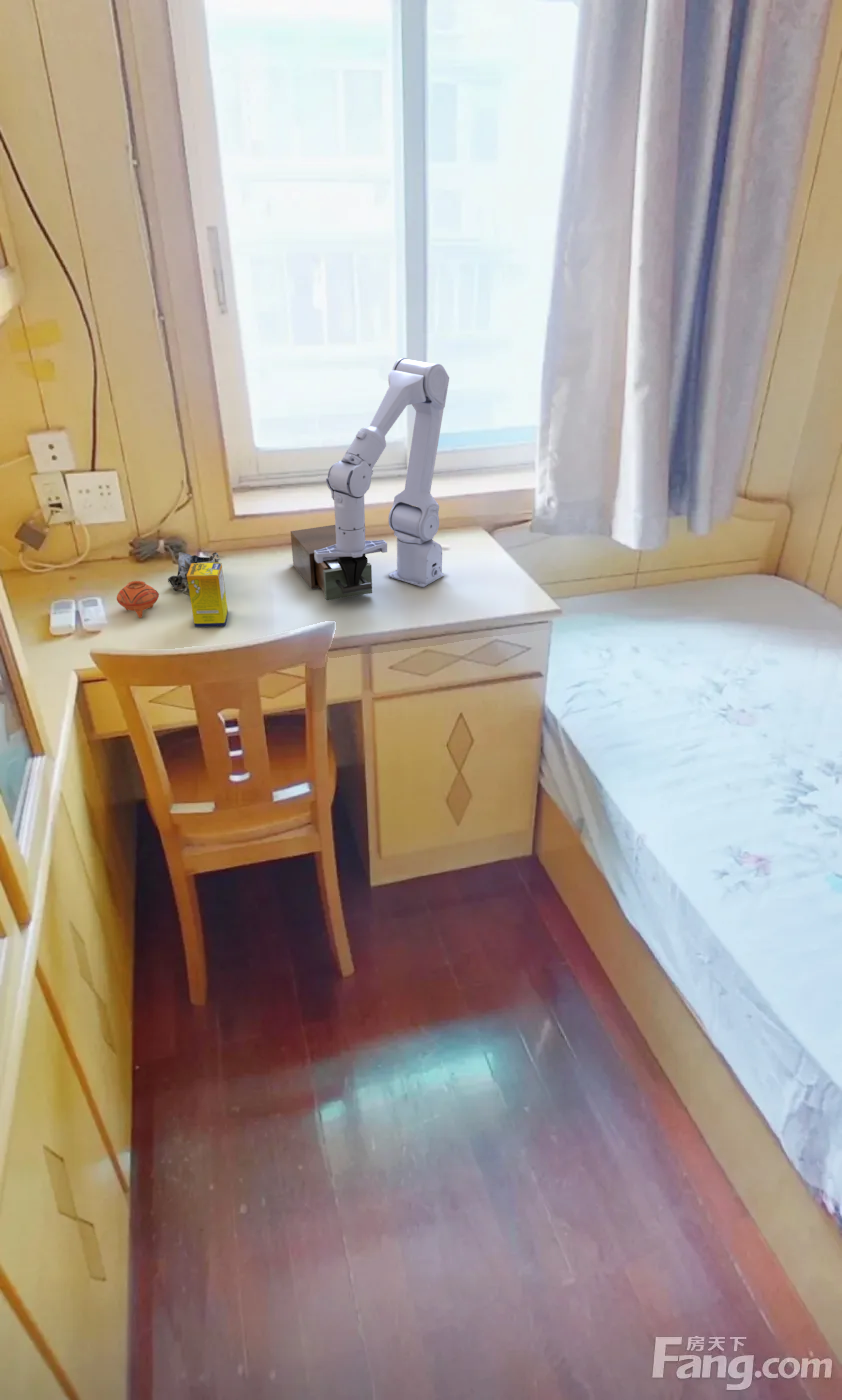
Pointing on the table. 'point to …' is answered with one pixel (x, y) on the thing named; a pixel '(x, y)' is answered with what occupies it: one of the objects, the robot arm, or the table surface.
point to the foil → (183, 568)
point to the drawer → (341, 581)
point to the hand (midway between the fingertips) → (352, 589)
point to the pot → (137, 597)
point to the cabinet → (310, 549)
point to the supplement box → (207, 594)
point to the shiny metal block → (332, 564)
